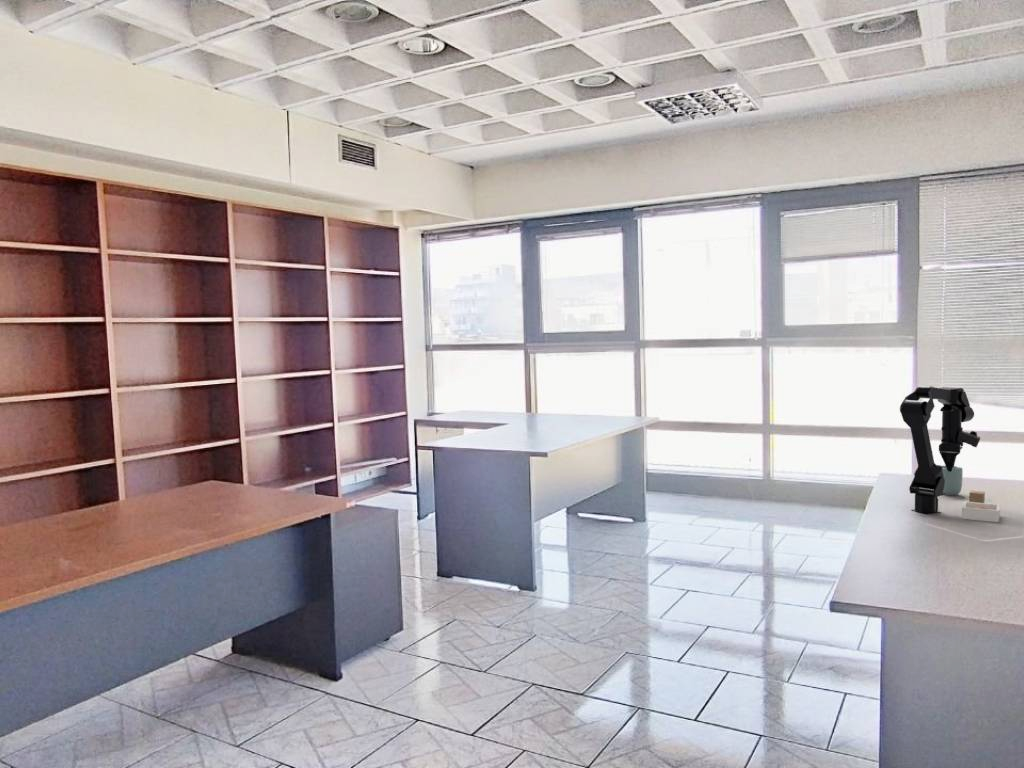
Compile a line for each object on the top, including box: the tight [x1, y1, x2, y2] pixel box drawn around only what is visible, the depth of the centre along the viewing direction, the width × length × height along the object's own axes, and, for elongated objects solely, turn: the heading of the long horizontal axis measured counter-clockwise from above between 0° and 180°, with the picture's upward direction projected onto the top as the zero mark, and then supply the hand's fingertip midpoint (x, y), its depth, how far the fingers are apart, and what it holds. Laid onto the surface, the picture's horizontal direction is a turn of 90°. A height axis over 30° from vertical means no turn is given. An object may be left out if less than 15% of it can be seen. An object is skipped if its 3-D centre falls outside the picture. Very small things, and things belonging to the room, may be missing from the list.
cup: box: [941, 465, 963, 496], centre depth 286 cm, size 8×8×10 cm
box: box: [961, 501, 1001, 523], centre depth 250 cm, size 10×10×4 cm
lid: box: [968, 490, 986, 503], centre depth 264 cm, size 10×10×6 cm
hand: (950, 469), depth 268 cm, fingers open, 9 cm apart
